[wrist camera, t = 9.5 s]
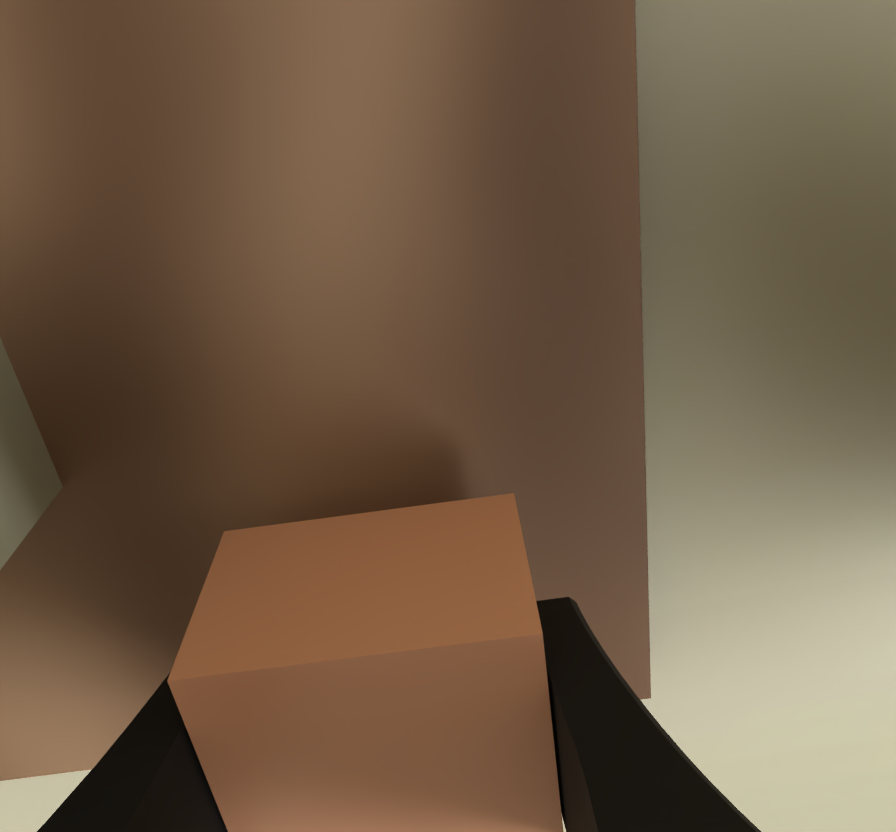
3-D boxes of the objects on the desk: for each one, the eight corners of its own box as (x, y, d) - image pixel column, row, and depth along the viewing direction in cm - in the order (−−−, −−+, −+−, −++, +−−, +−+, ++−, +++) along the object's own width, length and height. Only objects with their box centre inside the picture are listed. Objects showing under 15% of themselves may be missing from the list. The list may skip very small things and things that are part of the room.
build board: (611, -416, 8) (733, -689, 5) (642, 674, 16) (702, 843, 12) (-716, -200, 9) (-1366, -329, 6) (-89, 768, 16) (-216, 956, 13)
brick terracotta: (514, 493, 12) (542, 633, 9) (538, 704, 14) (567, 871, 11) (224, 531, 12) (167, 681, 9) (289, 735, 14) (258, 908, 11)
